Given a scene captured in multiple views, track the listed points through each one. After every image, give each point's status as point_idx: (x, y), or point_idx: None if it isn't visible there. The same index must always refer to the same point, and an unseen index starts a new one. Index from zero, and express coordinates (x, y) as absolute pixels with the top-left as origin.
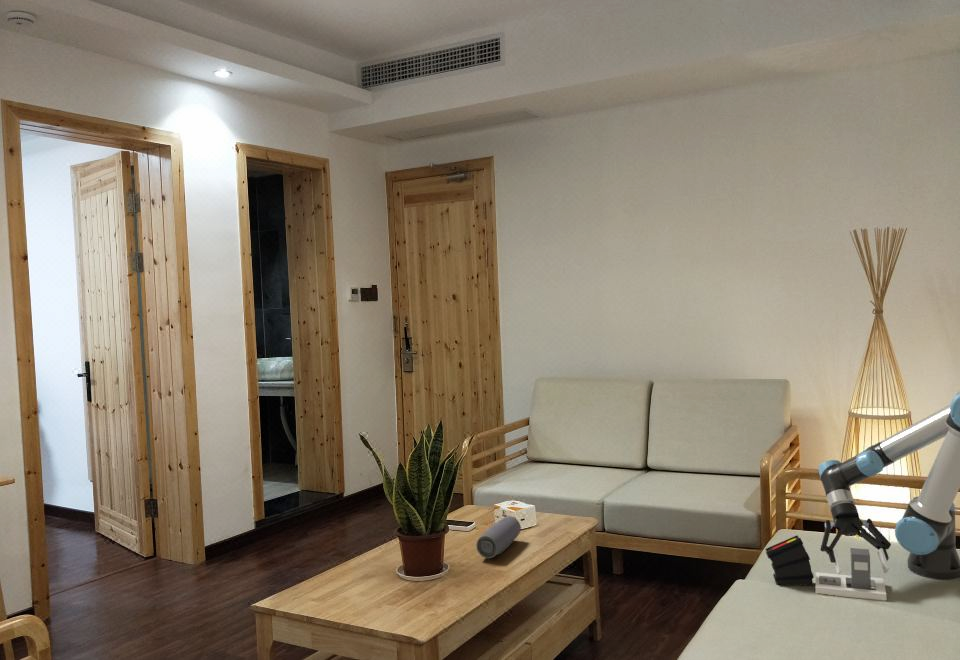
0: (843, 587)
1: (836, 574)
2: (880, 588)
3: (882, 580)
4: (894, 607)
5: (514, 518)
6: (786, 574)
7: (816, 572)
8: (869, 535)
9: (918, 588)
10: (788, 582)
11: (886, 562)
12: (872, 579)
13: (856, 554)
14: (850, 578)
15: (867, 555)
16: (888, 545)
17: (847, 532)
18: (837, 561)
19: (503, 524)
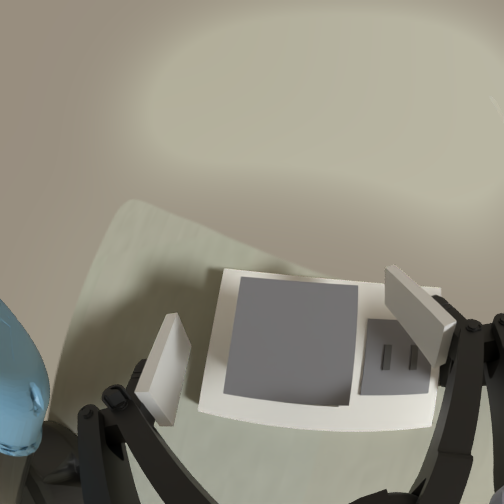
0: (360, 304)
1: (366, 427)
2: (230, 315)
3: (205, 391)
4: (219, 234)
5: None
6: None
7: (429, 425)
8: (168, 484)
9: (116, 376)
10: None
11: (161, 332)
12: (239, 399)
13: (326, 283)
14: (320, 405)
15: (256, 278)
16: (94, 408)
17: (382, 496)
18: (415, 285)
19: None
